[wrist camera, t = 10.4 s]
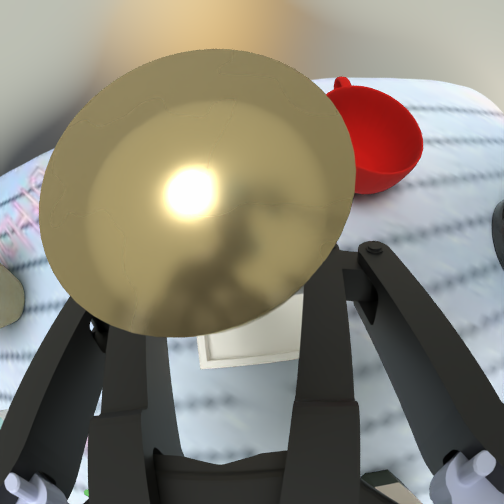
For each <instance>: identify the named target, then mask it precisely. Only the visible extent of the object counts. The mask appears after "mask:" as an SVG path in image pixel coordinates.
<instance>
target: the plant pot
mask: <svg viewBox="0 0 504 504" xmlns="http://www.w3.org/2000/svg"><path fill="white" fill-rule="evenodd" d="M24 301H25V297H24V290H23V287H22V284H21V283H20V281H19V280H18V279H17V278H16V277H15V276H14V275H13V274H12V273H11V272H10V271H9V270H8V269H6V268H5V267H4V266H3V265H2V264H1V263H0V328H2V327H5V326H7V325H9V324H11V323H13V322H15V321H17V320H18V319H19V318H20V316H21V314H22V312H23V308H24Z"/></svg>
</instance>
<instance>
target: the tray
mask: <svg viewBox="0 0 504 504" xmlns="http://www.w3.org/2000/svg"><path fill="white" fill-rule="evenodd" d="M302 309H303V294H299V295H293V296H292V297H291V298H290V299H289V300H288V301H287V302H286V303H284V304H283V305H282V306H280V307H279V308H277V309H276V310H274V311H273V312H271V313H270V314H268V315H266V316H265V317H263V318H261V319H259V320H256V321H254V322H252V323H250V324H248V325H246V326H243V327H240V328H237V329H234V330H230V331H227V332H224V333H218V334H212V335H205V336H197V344H198V352H199V361H200V369H211V368H225V367H236V366H247V365H256V364H265V363H273V362H280V361H288V360H295V359H299V352H300V339H301V325H302Z"/></svg>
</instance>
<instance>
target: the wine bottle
mask: <svg viewBox="0 0 504 504" xmlns="http://www.w3.org/2000/svg"><path fill="white" fill-rule="evenodd" d="M361 479H362V480H364V481H365V482H367V483H368V484H370V485H371V486H373V487H374V488H376V489H377V490H379V491H380V492H382V493H383V494H385V495H386V496H388V497H389V498H391V499H393V500H394V501H396V502H397V503H399V504H422V503H421V502H420V501H419V500H418V499H417V498H416V497H415V496H414V495H413V494H412V493H411V492H410V490H409V489H408V488H407V487H406V486H405V485H404V484H403V483H402V482H401V481H400V480H399V479H398V478H397V477H395V476H394V475H393V474H392V473H391V472H389V471H388V470H383V471H378V472H372V473H365V474H364V475H363V476H362V477H361Z"/></svg>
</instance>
